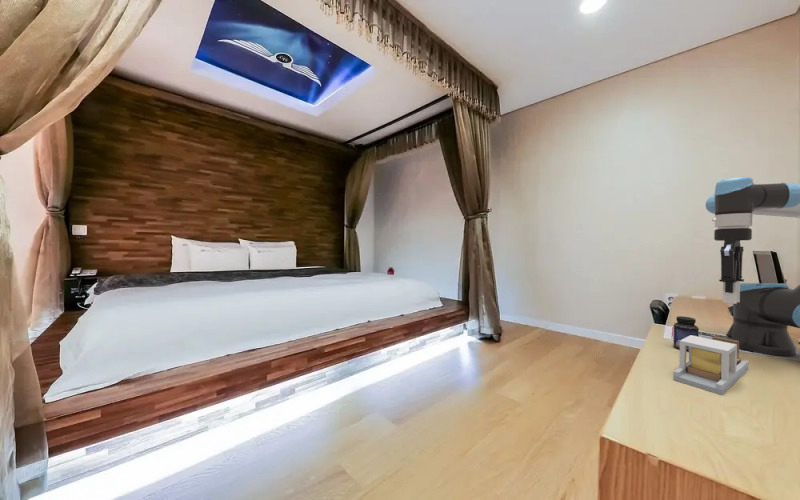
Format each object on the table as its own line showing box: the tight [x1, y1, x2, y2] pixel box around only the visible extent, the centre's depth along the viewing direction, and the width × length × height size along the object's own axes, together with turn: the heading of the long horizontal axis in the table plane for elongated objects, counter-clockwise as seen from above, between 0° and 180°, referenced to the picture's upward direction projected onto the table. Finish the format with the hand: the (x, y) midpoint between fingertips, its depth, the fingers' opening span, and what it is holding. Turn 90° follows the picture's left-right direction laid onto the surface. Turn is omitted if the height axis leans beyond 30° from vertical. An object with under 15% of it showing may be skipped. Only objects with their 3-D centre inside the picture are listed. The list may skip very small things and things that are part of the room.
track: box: [672, 335, 749, 396], centre depth 78 cm, size 27×9×10 cm, turn 120°
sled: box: [688, 336, 742, 381], centre depth 79 cm, size 22×6×7 cm, turn 120°
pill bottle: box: [673, 315, 700, 352], centre depth 97 cm, size 6×6×11 cm
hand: (731, 302), depth 87 cm, fingers open, 3 cm apart
